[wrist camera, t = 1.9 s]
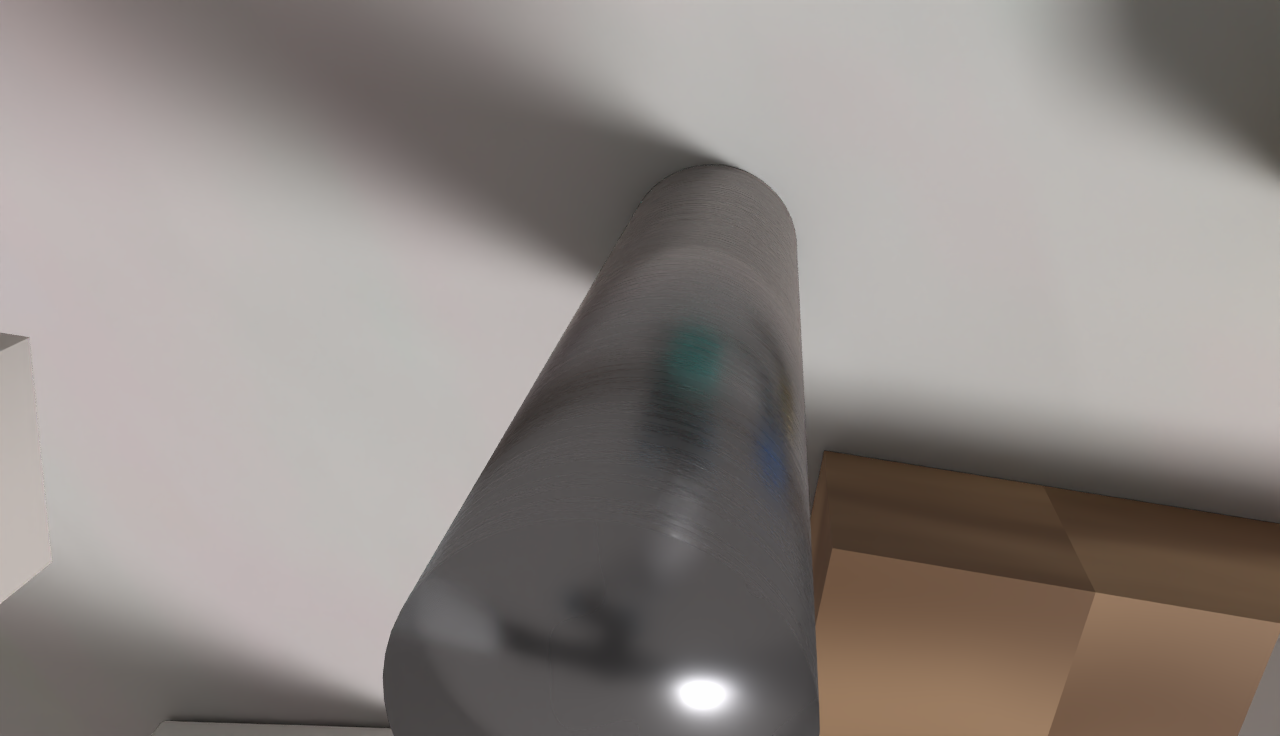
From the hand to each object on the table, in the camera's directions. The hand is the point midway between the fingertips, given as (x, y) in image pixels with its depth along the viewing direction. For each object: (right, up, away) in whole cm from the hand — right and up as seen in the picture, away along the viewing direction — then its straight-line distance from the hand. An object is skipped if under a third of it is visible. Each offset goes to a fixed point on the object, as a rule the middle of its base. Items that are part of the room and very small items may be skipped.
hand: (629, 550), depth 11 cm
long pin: (+2, +4, +10) cm, 11 cm away
